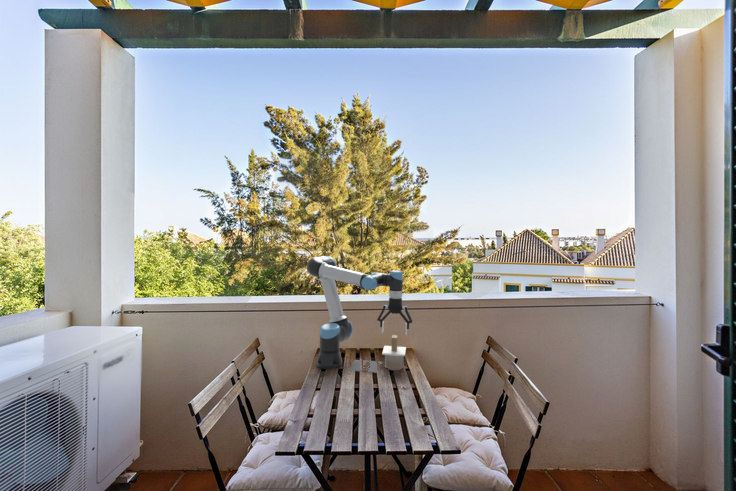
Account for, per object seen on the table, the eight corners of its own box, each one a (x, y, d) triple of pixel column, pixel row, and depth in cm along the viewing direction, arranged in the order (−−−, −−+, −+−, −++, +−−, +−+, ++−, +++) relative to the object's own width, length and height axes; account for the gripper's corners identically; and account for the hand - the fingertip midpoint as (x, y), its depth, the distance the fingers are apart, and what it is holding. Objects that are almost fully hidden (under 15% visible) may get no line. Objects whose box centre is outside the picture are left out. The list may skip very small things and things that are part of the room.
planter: (407, 368, 216) (407, 352, 215) (392, 372, 210) (392, 356, 209) (395, 362, 225) (395, 347, 224) (381, 366, 219) (381, 350, 218)
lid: (381, 354, 211) (382, 339, 211) (384, 347, 224) (384, 332, 223) (404, 356, 209) (405, 340, 209) (406, 348, 222) (406, 333, 222)
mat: (349, 371, 210) (349, 370, 210) (354, 360, 227) (354, 359, 227) (379, 373, 208) (379, 372, 208) (382, 362, 225) (382, 361, 225)
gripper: (373, 297, 213) (372, 333, 214) (417, 300, 209) (415, 337, 210) (375, 295, 220) (373, 330, 221) (417, 297, 216) (416, 333, 218)
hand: (394, 333), depth 216 cm, fingers open, 13 cm apart
